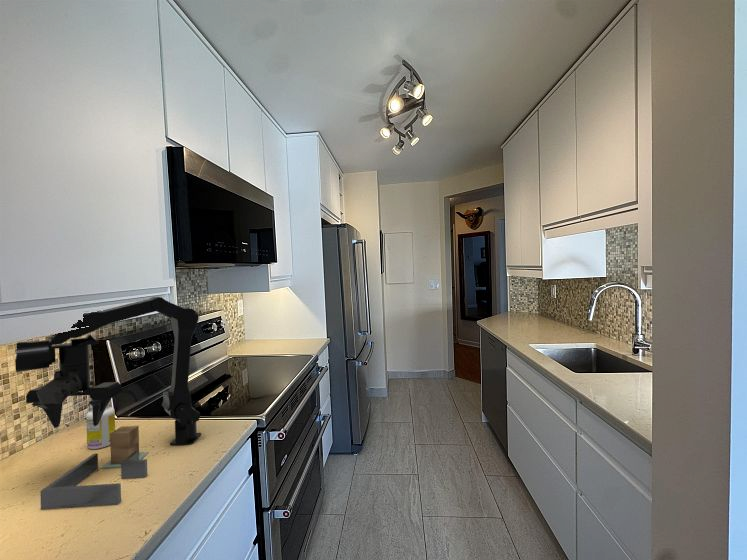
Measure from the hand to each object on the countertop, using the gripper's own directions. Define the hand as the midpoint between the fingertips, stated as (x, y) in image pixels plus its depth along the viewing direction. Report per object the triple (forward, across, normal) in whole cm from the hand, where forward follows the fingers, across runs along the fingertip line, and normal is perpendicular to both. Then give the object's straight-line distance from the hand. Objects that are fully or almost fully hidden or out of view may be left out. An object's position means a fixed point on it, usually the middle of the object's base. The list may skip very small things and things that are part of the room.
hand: (76, 426), depth 86 cm
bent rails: (+12, +10, -6) cm, 17 cm away
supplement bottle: (+12, -5, +16) cm, 21 cm away
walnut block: (+12, +8, +6) cm, 15 cm away
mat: (+12, +8, +6) cm, 15 cm away
